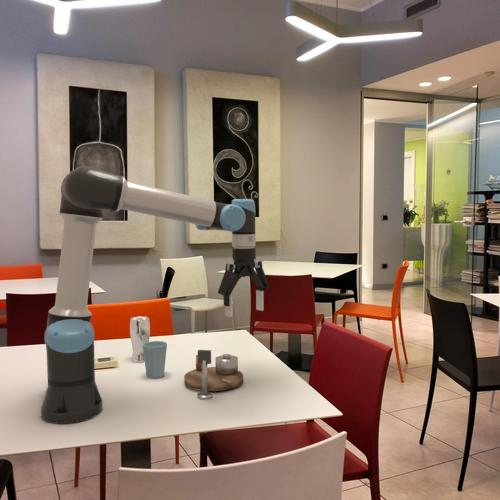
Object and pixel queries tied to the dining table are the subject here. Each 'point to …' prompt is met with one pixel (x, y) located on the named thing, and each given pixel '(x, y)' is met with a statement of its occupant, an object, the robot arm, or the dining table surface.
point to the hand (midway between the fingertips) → (244, 313)
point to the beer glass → (139, 336)
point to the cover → (226, 365)
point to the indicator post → (204, 373)
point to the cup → (155, 358)
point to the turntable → (211, 379)
